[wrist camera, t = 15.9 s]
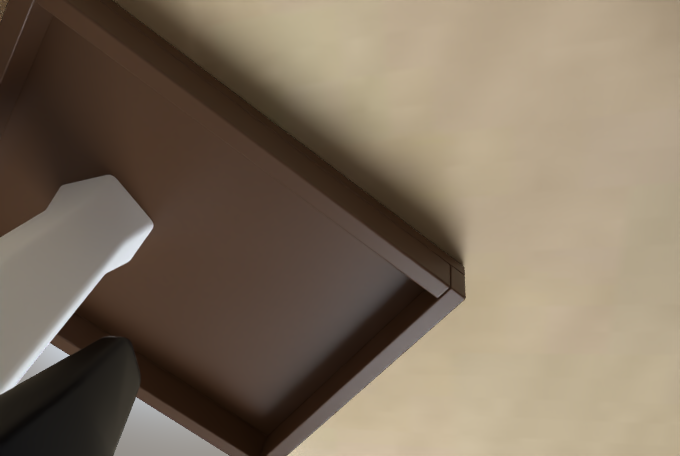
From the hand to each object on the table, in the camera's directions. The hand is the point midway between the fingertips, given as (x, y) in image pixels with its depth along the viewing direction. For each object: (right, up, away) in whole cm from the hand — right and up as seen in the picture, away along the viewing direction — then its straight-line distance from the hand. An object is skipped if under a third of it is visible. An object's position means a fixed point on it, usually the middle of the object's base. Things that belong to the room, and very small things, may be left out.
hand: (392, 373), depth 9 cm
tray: (-7, +1, +14) cm, 16 cm away
